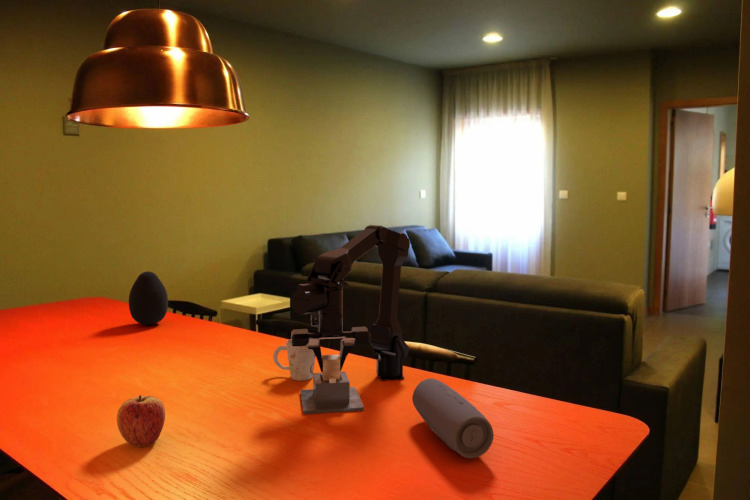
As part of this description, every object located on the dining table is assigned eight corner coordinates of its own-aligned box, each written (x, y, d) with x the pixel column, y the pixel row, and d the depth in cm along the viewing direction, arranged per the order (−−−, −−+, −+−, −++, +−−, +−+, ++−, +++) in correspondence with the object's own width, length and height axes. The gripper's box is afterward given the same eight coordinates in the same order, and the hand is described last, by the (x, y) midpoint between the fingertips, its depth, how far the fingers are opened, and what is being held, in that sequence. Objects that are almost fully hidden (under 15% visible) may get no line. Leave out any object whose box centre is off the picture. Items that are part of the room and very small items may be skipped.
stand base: (355, 389, 150) (355, 363, 150) (363, 410, 137) (364, 381, 136) (300, 392, 148) (300, 365, 147) (303, 414, 134) (303, 384, 134)
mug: (311, 383, 155) (311, 346, 154) (267, 379, 158) (266, 343, 157) (321, 373, 163) (320, 338, 162) (278, 370, 166) (277, 335, 165)
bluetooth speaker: (496, 461, 112) (497, 411, 111) (451, 468, 110) (452, 416, 108) (448, 416, 134) (449, 374, 133) (409, 421, 131) (410, 377, 130)
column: (338, 388, 145) (338, 354, 144) (340, 395, 140) (340, 359, 139) (321, 389, 144) (321, 355, 143) (322, 396, 140) (322, 360, 139)
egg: (159, 318, 228) (158, 267, 226) (174, 325, 218) (173, 271, 216) (123, 324, 219) (121, 271, 216) (137, 331, 209) (135, 275, 206)
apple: (118, 456, 113) (115, 406, 112) (117, 438, 121) (115, 391, 120) (167, 448, 117) (166, 400, 115) (164, 431, 125) (162, 385, 124)
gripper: (364, 299, 149) (363, 359, 151) (290, 302, 146) (290, 362, 148) (371, 309, 138) (371, 373, 140) (291, 311, 135) (292, 377, 137)
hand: (330, 371), depth 142 cm, fingers closed on column, 4 cm apart
